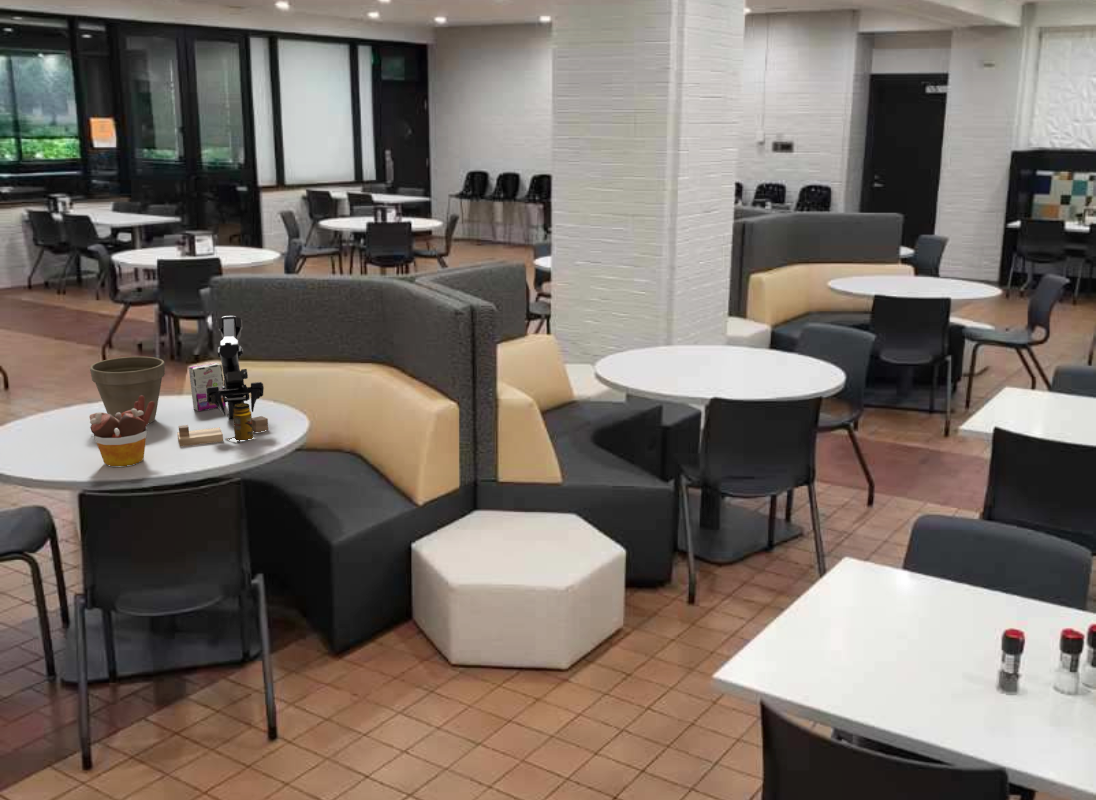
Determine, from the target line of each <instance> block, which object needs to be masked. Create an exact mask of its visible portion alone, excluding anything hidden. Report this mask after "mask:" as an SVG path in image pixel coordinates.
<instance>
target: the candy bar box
mask: <svg viewBox="0 0 1096 800" xmlns="http://www.w3.org/2000/svg"><path fill="white" fill-rule="evenodd" d="M188 374H189V383H190V389H191V390H190V391H191V399H192V406H193V410H194V409H195V411H196V410H197V411H196V412H203V411H207V410H208V409H209V410H213V408H214V409H219V408H218V407H217V406H216V405H215V404H212V403H211V402H207V397H206V389H207V388H208V387H215V386H218V388H219V390H222V386H224V375H223V370H222V363H219V362H213V363H212V362H211V363H205V364H200V365H195V366H194V365H193V366H189V367H188ZM221 399H222V402H223V406H224V407H226V405H227V402H225V403H224V401H223V396H221Z"/></svg>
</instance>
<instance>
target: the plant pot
mask: <svg viewBox="0 0 1096 800" xmlns="http://www.w3.org/2000/svg"><path fill="white" fill-rule="evenodd" d="M89 370H90V376H91V381H92V382H93V383H95V385H96V389H97V391H98V393H99V396H100V398H101V400H102V403H103V406H104V408H105V409H104V410H105V411H106V413H107V414H111V415H112V416H113V417H115V414H116V413H119V412H120V414H121V413H123V412H125V411H128V410H132V409H134V403H135V402H136V401H138V398H139V396H141V395H142V396H144V397H145V409H144V414H145V411H146V409H147V406H148V403H149V402H151V401H153V402H154V403H155V406H154V409H153V412H152V414H151V417H150V419H149V422H148V423H149V424H151V423H153V422H154V421H155V420H156V416H157V411H158V405H159V398H160V393H161V386H162V379H163V377H164V376H165V375H166V373H165V372H166V371H165V361H164V360H163V359H162V358H158V357H153V356H125V357H115V358H110V359H108V358H107V359H105V360H100V361H97V362H95V363H92V364H90V366H89ZM115 418H116V417H115ZM116 419H117V420H119V419H118V418H116ZM119 421H120V420H119Z"/></svg>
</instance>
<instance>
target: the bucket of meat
mask: <svg viewBox="0 0 1096 800" xmlns="http://www.w3.org/2000/svg"><path fill="white" fill-rule="evenodd" d="M154 406H155V403H154V402H153V401H151V402H149V403H148V406H147V409H146V411H145V414H144V409H145V397H144V396H142V395H141V396H139V398H138V401H136V402H135V403H134V409H132V410H128V411H125V412H123V413H121V414H120V412H119V413H116V414H115V417H116V418H118V419H119V420H120V421H119V420H117V419H116V418H115V417H113V416H112V415H111V414H107V412H101V411H98V412H94V413H91V414H89V424H91V425H90V427H89V428H90V432H91V433H92V434H93V439H94V440H95V442H96V443H95V444H96V445H97V448H98V451H99V453H100V455H101V458H102V460H103V463H104V464H105V465H106V464H107V466H108V465H110V466H109V467H111V466H126V467H128V466H127V465H132V466H134V465H133V464H135V465H137V464H136V463H138V464H139V462H140V463H142V461H143V460H144V459H145V450H146V441H147V433H148V429H147V426H148V425H149V424H148V422H149V419H150V417H151V414H152V412H153V409H154Z"/></svg>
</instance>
